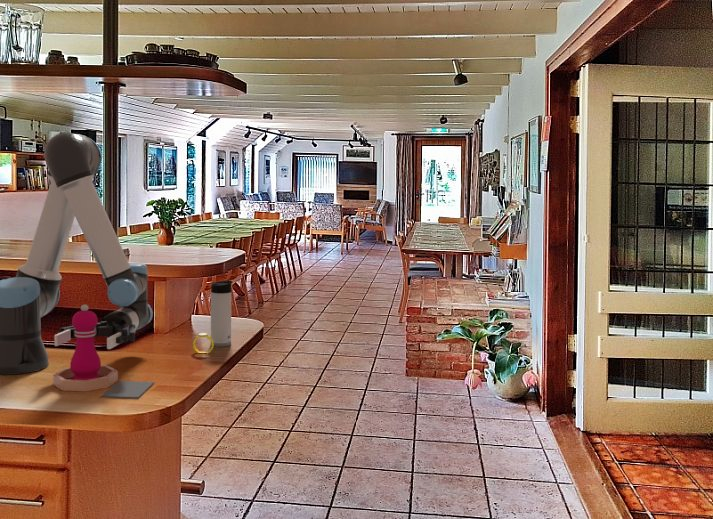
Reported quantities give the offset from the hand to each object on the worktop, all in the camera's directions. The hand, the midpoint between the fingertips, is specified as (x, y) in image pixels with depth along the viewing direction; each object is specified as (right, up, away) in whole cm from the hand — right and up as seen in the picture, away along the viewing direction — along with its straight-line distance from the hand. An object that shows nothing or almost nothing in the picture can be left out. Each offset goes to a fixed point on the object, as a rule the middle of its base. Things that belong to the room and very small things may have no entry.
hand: (82, 342), depth 173 cm
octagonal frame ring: (0, -11, +4) cm, 11 cm away
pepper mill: (0, -11, +4) cm, 11 cm away
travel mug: (+26, -6, +46) cm, 53 cm away
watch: (+22, -8, +35) cm, 42 cm away
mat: (+12, -12, -2) cm, 17 cm away
